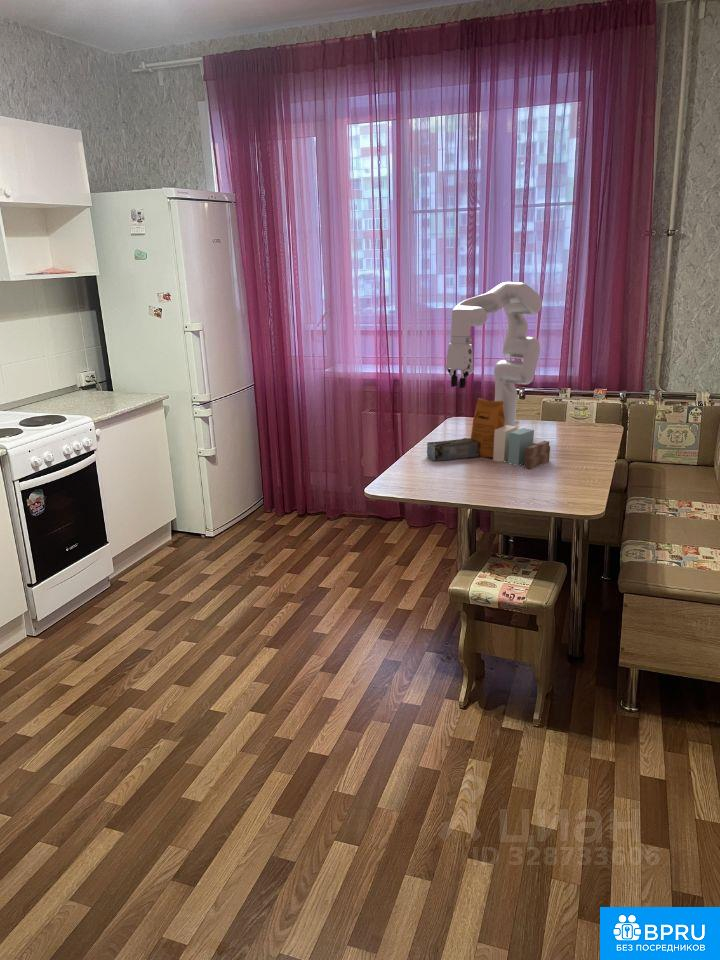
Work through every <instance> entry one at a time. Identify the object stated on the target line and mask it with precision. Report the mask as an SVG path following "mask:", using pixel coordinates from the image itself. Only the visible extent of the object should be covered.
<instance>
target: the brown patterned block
mask: <svg viewBox="0 0 720 960" xmlns="http://www.w3.org/2000/svg"><path fill="white" fill-rule="evenodd" d="M550 455H551V445H550V441H549V440H544V441H540V442H538V443H535V442H533V445H532V446H529V447H526V450H525V463H524V464H523V465H524V467H523V469H524V468H526V469H525V470H531V468H532V469H533V467H534V468H537V467H538V466H541V465H544V464H546V463H549V462H550ZM536 466H537V467H536Z"/></svg>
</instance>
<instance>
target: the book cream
mask: <svg viewBox="0 0 720 960" xmlns="http://www.w3.org/2000/svg"><path fill="white" fill-rule="evenodd" d="M517 429H518V426H517V425H515V426H509V425H506V426H503V427H501V428H498V429H496V430H495V434H494V452H493V459H492V460H493V461H495V460H499V461H498V462H500V461H505V462H506V460H507V461H508V452H509V437H510V432H513V431H516V430H517Z"/></svg>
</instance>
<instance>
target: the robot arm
mask: <svg viewBox="0 0 720 960" xmlns="http://www.w3.org/2000/svg"><path fill="white" fill-rule="evenodd" d="M542 307H543V300H542V298H541V296H540V294H539V293H538V292H537V291H535V290H534V289H533V288H532V287H531V286H530V285H528V284H526V283H524V282H517V281H516V282H515V281H513V282H512V281H505V282H501V283H500V284H498V285H496V286H495V287H493V288H492V289H490V290H489V291H487V292H486V293H483V294H480V295H476V296H473V297H471V298H470V297H469V298H467V299H465V300H463V301H461V302H459V303H458V304H457V305H456V306H454V308H453V309H452V310H451V322H450V324H451V325H450V342H449V344H448V347H447V352H446V353H447V354H446V362H445V365H444V369H445V370H446V372H448V374H449V376H450V386H451V388H455V387H457V386H458V385H459V386H458V388H459V389H463V388H466V383H467V378H468V376H469V375H471V374H472V373H474V372H475V370H474V351H473V345H472V344H470V343H473V338H471V328H472V327H482V326H483V325H484V324H486V322H487V320H488V315H490V314H494V313H497V312H498V311H500V310H501V309H502V308H503V309H504V312H505V314H506V318H507V329H506V334H505V337H504V342H503V346H502V353H503V355H504V356H505V357H508V358H513V359H520V360H522V361H520V360H511V359H503V360H502V359H501V360H498V361H497V362H496V363H495V365H494V366H493V368H494V369H493V375H494V377H493V378H494V386H495V387H494V388H495V389H494V390H495V391H494V401H503V403H504V404H503V410H504V417H505V423H504V426H506V425H509V426H517V425H519V424H520V420H518V419H516V414H517V398H518V391H517V388H516V386H515V385H516V384H517V385H529V384H531V383H532V382H533V380H534V378H535V373H536V370H537V364H538V360H539V357H540V351H541V344H540V341H539V340H538V338H536V337H533V336H527V334H528V333H527V332H528V327H529V324H528V321H527V318H526V317H525V315H536V314H538V313H539V312H540V311H541V310H542ZM458 371H460V378H459V384H458V376H457V372H458ZM517 430H519V429H518V428H517Z"/></svg>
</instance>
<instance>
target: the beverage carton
mask: <svg viewBox="0 0 720 960" xmlns="http://www.w3.org/2000/svg"><path fill="white" fill-rule="evenodd" d="M426 443H427V444H426V458H428V459H430V460H432V461H434V462H438V461H449V460H458V459H459V460H460V459H467V458H477V457H479V455H478V442H477V441H475V440H472V439H471V437H469V438H466V437H464V438H460V439H459V438H458V439H451V440H449V439H448V440H442V441H441V440H439V441H428V442H426Z"/></svg>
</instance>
